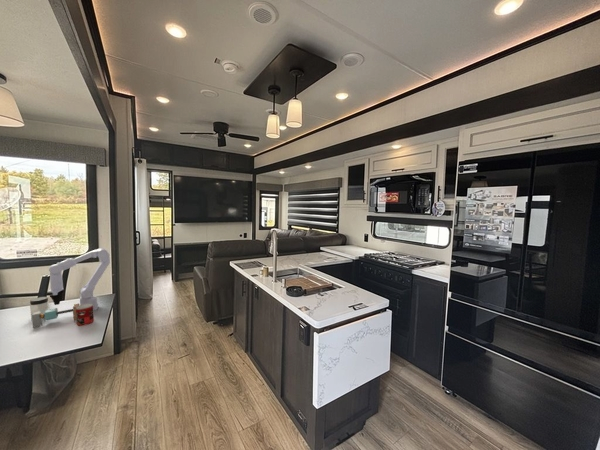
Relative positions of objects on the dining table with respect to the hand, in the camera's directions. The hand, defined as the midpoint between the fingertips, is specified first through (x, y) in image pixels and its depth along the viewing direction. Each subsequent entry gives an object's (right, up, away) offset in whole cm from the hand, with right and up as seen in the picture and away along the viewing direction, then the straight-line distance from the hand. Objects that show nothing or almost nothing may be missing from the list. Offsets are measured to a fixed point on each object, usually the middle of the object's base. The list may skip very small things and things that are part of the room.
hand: (58, 302), depth 162 cm
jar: (-13, -10, +1) cm, 16 cm away
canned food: (+25, -10, -8) cm, 29 cm away
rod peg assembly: (+6, -10, -6) cm, 13 cm away
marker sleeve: (+4, -7, -8) cm, 12 cm away
